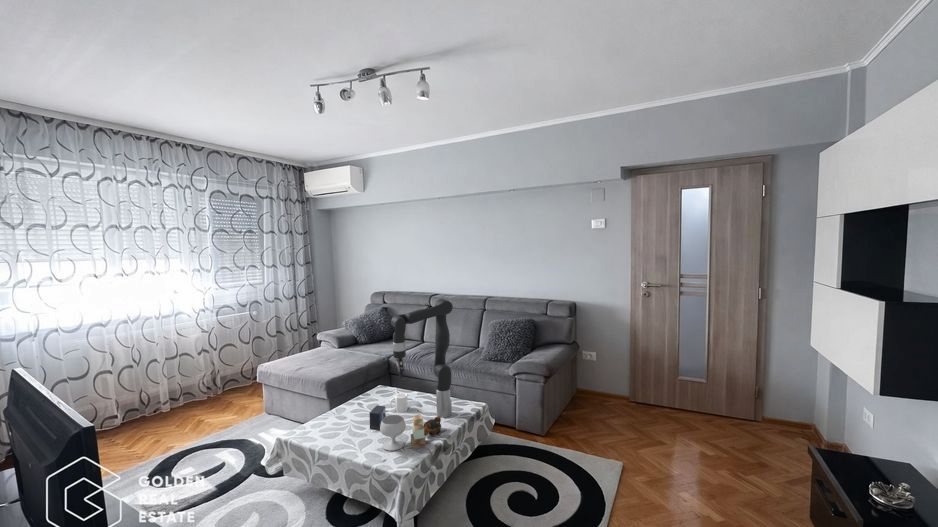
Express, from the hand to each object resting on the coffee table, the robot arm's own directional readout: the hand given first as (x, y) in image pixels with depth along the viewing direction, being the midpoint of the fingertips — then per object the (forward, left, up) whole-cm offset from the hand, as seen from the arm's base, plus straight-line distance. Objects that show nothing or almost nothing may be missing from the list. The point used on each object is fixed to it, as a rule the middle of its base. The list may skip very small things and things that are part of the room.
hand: (400, 375), depth 236 cm
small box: (+14, -6, -32) cm, 36 cm away
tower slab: (-6, +24, -32) cm, 41 cm away
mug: (-1, -23, -32) cm, 40 cm away
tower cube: (-6, +25, -27) cm, 37 cm away
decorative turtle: (-16, +15, -32) cm, 39 cm away
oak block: (-6, +25, -22) cm, 34 cm away
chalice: (+8, +21, -32) cm, 39 cm away
